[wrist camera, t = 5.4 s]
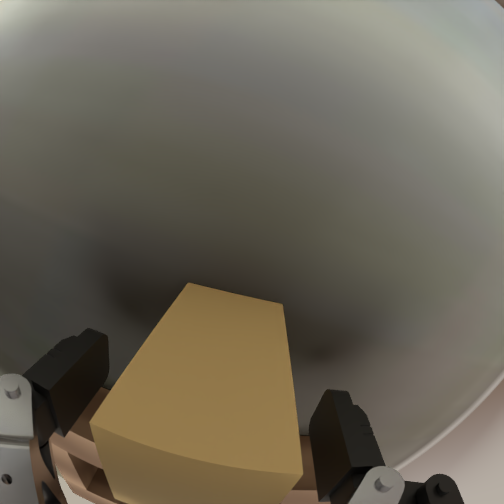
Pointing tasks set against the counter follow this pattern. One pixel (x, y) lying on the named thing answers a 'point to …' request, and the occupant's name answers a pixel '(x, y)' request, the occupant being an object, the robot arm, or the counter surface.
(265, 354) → the square peg
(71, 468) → the socket block
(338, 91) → the counter surface
